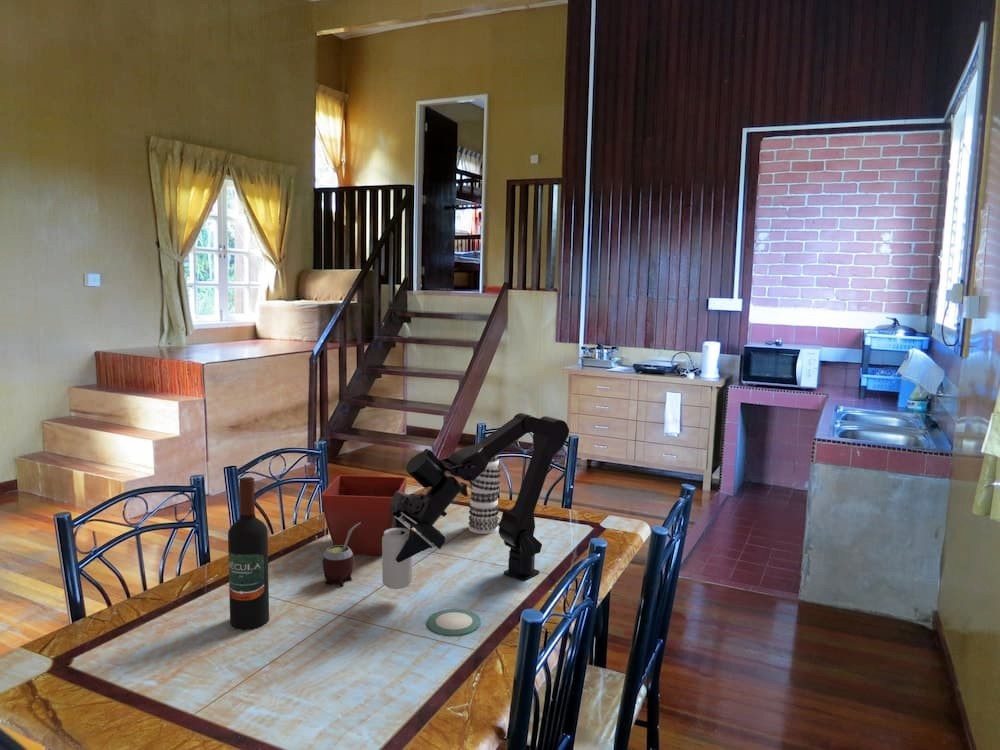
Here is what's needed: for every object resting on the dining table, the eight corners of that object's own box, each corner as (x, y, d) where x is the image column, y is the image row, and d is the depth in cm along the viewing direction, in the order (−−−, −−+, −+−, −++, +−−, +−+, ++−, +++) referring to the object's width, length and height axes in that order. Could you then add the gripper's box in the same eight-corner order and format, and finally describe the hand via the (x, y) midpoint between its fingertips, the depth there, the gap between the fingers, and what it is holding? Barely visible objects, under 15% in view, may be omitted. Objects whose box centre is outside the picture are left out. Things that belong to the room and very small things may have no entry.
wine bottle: (276, 616, 149) (274, 476, 146) (253, 632, 142) (250, 485, 139) (246, 610, 152) (243, 472, 148) (221, 626, 145) (218, 481, 141)
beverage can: (406, 591, 153) (406, 537, 152) (378, 589, 154) (377, 535, 153) (415, 580, 159) (415, 527, 158) (388, 577, 161) (388, 525, 159)
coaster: (452, 606, 156) (452, 604, 156) (491, 621, 149) (491, 619, 149) (416, 624, 147) (416, 621, 147) (456, 641, 141) (456, 638, 141)
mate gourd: (319, 578, 169) (319, 517, 167) (352, 573, 173) (352, 513, 171) (327, 590, 163) (327, 526, 161) (361, 584, 166) (361, 522, 164)
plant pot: (395, 561, 181) (395, 496, 179) (320, 559, 181) (319, 494, 179) (407, 535, 200) (407, 476, 198) (338, 533, 200) (338, 475, 198)
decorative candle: (462, 525, 209) (463, 441, 206) (491, 522, 213) (493, 439, 210) (474, 535, 201) (476, 448, 198) (504, 531, 205) (506, 446, 202)
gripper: (396, 468, 164) (350, 523, 160) (432, 488, 148) (382, 549, 144) (427, 496, 169) (384, 550, 165) (465, 519, 153) (418, 579, 149)
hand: (391, 556), depth 155 cm, fingers closed on beverage can, 6 cm apart
